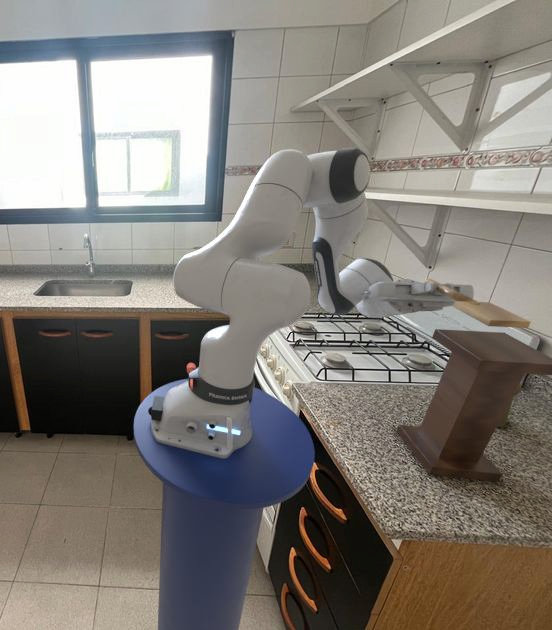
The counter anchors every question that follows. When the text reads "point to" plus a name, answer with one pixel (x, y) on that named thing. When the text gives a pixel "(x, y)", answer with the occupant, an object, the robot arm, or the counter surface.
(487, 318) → the spatula
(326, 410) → the counter surface
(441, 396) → the stand
